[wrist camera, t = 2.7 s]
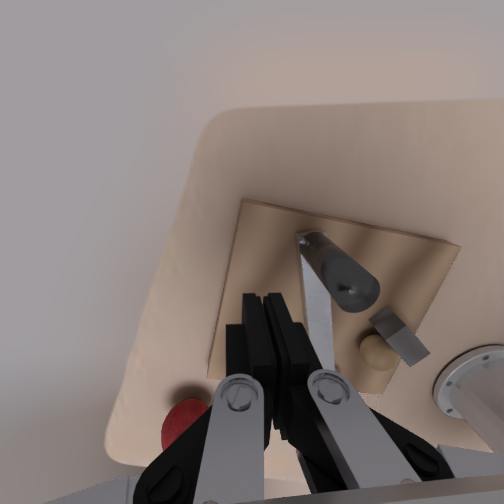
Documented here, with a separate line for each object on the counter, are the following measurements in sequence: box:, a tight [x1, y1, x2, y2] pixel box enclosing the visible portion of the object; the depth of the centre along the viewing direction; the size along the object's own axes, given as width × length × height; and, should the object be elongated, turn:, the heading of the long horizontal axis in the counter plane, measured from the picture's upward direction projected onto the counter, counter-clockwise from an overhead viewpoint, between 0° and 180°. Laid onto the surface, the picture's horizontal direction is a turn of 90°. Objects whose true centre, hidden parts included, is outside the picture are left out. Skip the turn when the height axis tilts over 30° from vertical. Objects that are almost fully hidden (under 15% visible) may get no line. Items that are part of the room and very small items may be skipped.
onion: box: [161, 399, 209, 451], centre depth 28 cm, size 6×6×8 cm
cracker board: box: [207, 198, 461, 394], centre depth 26 cm, size 22×20×6 cm
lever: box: [296, 229, 380, 374], centre depth 22 cm, size 20×4×9 cm, turn 9°
